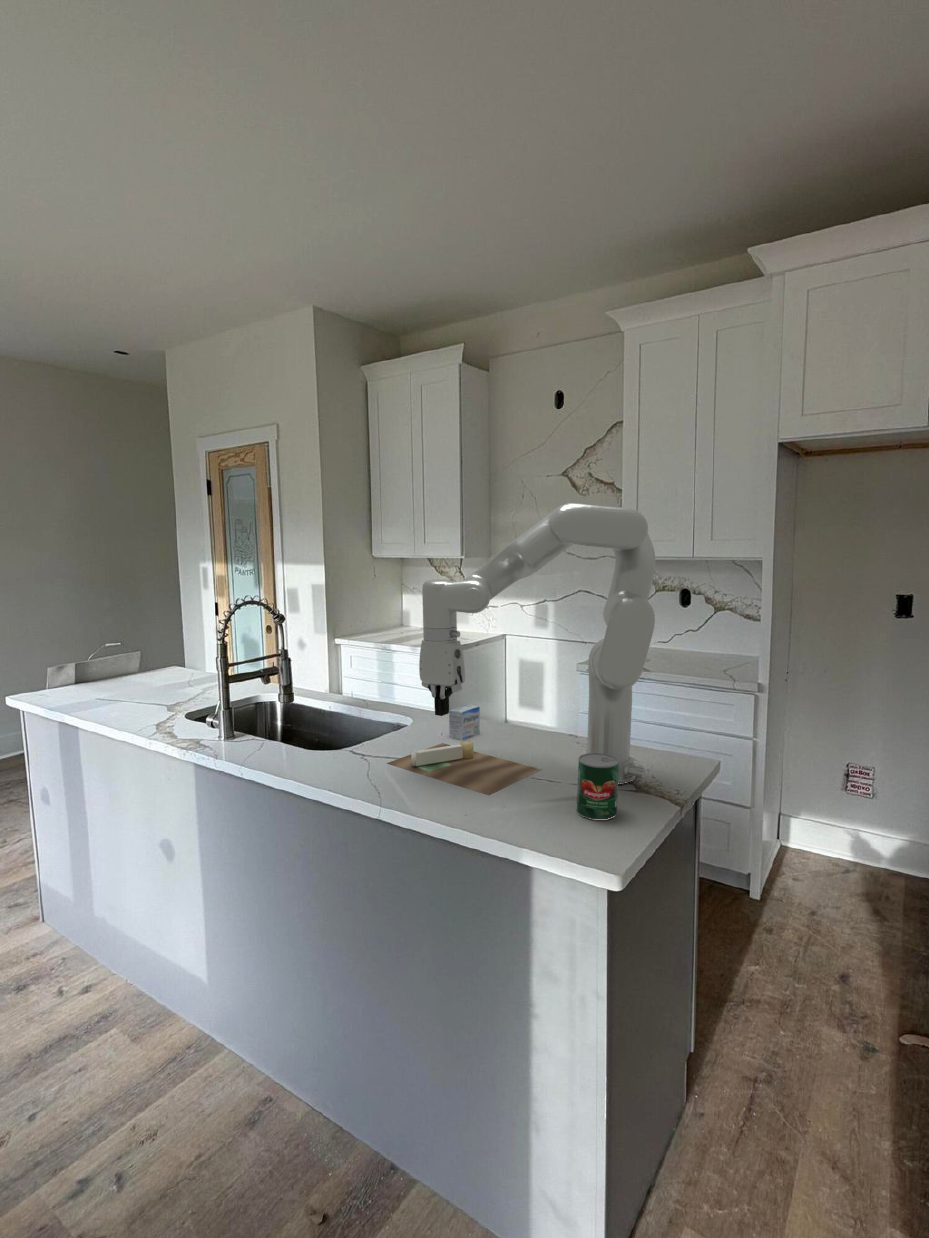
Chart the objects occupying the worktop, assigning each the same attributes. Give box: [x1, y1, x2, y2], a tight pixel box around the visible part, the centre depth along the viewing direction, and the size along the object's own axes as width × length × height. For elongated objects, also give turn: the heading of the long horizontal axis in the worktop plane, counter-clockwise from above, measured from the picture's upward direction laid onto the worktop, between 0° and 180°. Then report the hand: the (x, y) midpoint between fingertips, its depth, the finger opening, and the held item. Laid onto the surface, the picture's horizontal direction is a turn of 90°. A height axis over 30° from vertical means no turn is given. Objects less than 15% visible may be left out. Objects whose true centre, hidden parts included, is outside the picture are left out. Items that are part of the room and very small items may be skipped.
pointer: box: [410, 740, 474, 766], centre depth 162 cm, size 16×3×3 cm, turn 118°
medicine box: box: [448, 704, 481, 741], centre depth 183 cm, size 8×4×9 cm, turn 143°
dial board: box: [386, 742, 542, 796], centre depth 159 cm, size 30×20×1 cm, turn 51°
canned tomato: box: [576, 753, 619, 819], centre depth 136 cm, size 8×8×11 cm
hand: (442, 714), depth 157 cm, fingers closed
